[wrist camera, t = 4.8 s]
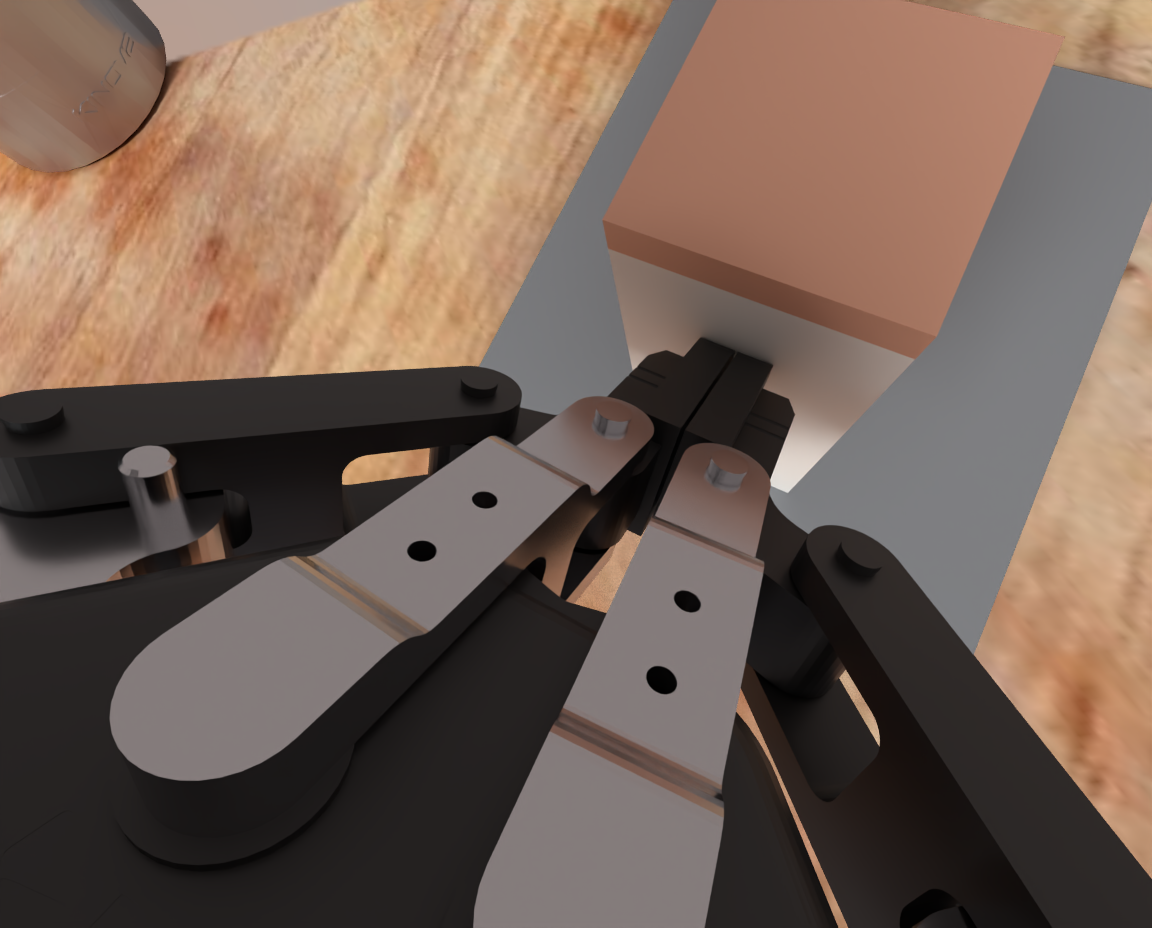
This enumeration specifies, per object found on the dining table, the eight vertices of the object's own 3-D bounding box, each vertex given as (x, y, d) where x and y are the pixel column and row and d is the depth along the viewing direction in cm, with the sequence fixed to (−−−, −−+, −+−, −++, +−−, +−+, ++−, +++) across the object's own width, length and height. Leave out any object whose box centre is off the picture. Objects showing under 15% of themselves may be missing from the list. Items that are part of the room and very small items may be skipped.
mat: (454, 425, 23) (449, 421, 22) (684, -11, 25) (684, -23, 25) (961, 662, 19) (969, 664, 18) (1180, 110, 21) (1192, 98, 20)
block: (644, 431, 21) (602, 219, 10) (706, 304, 22) (736, -38, 10) (787, 493, 20) (937, 336, 8) (848, 357, 21) (1065, 36, 9)
